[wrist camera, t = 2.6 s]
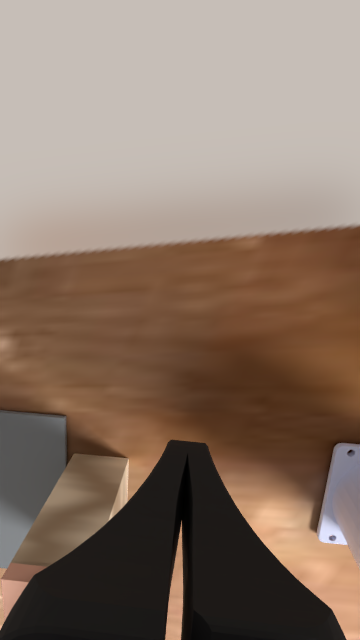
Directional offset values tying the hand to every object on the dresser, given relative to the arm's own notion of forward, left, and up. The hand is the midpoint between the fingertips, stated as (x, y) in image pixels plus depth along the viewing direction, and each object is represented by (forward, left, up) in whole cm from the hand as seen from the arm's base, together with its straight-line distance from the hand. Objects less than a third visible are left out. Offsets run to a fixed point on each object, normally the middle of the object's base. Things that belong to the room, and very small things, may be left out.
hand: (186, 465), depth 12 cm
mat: (+14, +12, -10) cm, 21 cm away
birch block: (+6, +12, -10) cm, 17 cm away
